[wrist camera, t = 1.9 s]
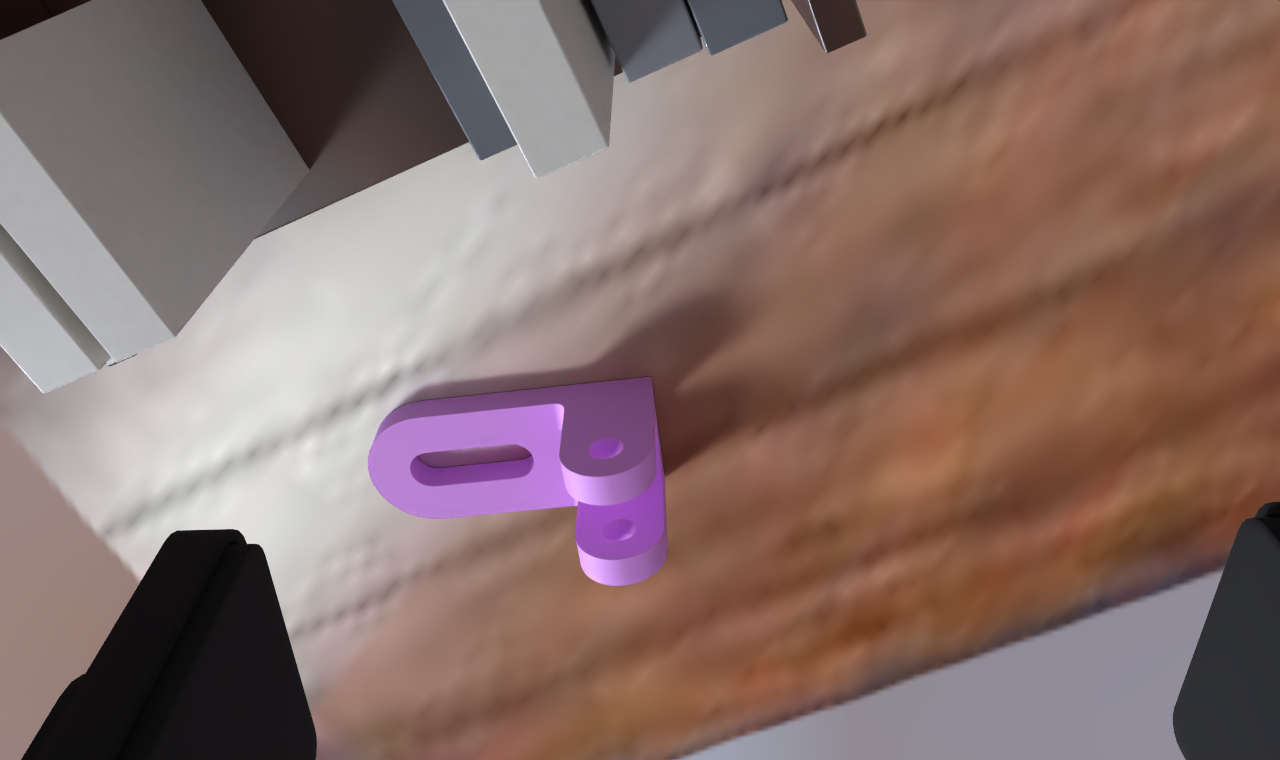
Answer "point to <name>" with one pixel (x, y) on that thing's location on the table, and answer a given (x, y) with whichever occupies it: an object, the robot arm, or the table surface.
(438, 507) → the bracket
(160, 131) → the white books
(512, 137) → the grey books
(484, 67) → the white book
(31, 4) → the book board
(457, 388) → the table surface
